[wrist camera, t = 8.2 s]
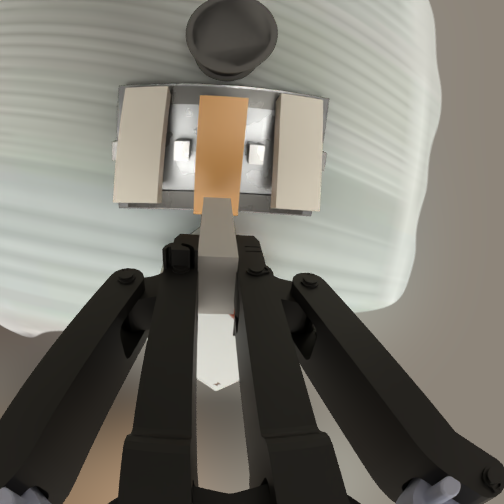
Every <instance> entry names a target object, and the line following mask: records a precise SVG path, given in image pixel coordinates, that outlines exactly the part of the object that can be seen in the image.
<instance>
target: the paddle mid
mask: <svg viewBox="0 0 504 504" xmlns="http://www.w3.org/2000/svg"><path fill="white" fill-rule="evenodd" d="M248 100H249V98H241V97H227V96H208V95H200V102H199V115H198V129H197V144H196V162H195V184H194V214H202V209H203V200H204V197H213V198H231V205H232V213H233V216H238V206H239V194H240V183H241V172H242V161H243V150H244V140H245V130H246V120H247V110H248Z"/></svg>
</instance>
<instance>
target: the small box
mask: <svg viewBox="0 0 504 504" xmlns="http://www.w3.org/2000/svg"><path fill="white" fill-rule="evenodd" d="M192 234H194V235H200V228H198V229H197V230H196V231H194V232H193V233H192ZM162 272H163V266H162V269H161V273H162ZM161 273H160V274H161ZM234 315H235V310H234V314H199V313H198V338H197V379H198V380H199V381H201V382H202V383H204V384H205V385H207V386H208V387H210V388H211V389H213V390H214V391H217V390H220V389H222V388H224V387H226V386H229V385H230V384H233V383H235V382H237V381H239V371H238V361H237V351H236V340H235V336H233V327H234ZM147 339H148V338H147ZM146 341H147V340H146Z"/></svg>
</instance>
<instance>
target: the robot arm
mask: <svg viewBox="0 0 504 504" xmlns="http://www.w3.org/2000/svg"><path fill="white" fill-rule="evenodd" d="M162 250H163V272H162V273H161V274H159V275H156V276H152V277H146V278H144V276H143V273H142V272H140V271H139V270H136V269H131V268H126V269H121V270H118V271H116V272H114V273H113V274H112V275H111V276H110V277H109V278H108V279H107V280H106V282H105V283H104V284H103V285H102V286H101V287H100V288H99V290H98V291H97V292H96V293H95V294H94V295H93V296H92V298H91V299H90V300H89V301H88V302H87V303H86V305H85V306H84V307H83V308H82V309H81V311H80V312H79V313H78V314H77V315H76V317H75V318H74V319H73V320H72V321H71V323H70V324H69V325H68V326H67V328H66V329H65V330H64V331H63V333H62V334H61V335H60V337H59V338H58V339H57V340H56V342H55V343H54V344H53V345H52V347H51V348H50V349H49V351H48V352H47V353H46V355H45V356H44V357H43V359H42V360H41V361H40V363H39V364H38V365H37V367H36V368H35V369H34V371H33V372H32V373H31V375H30V376H29V378H28V379H27V380H26V382H25V383H24V385H23V386H22V388H21V389H20V390H19V392H18V394H17V395H16V397H15V398H14V399H13V401H12V402H11V404H10V405H9V407H8V408H7V410H6V411H5V413H4V415H3V416H2V418H1V419H0V504H63V502H64V501H65V499H66V497H67V496H68V495H69V493H70V491H71V489H72V487H73V485H74V483H75V481H76V479H77V477H78V475H79V473H80V470H81V468H82V466H83V464H84V462H85V460H86V457H87V455H88V453H89V451H90V449H91V447H92V445H93V443H94V440H95V438H96V436H97V434H98V432H99V430H100V428H101V426H102V424H103V422H104V420H105V418H106V416H107V414H108V412H109V410H110V408H111V406H112V404H113V402H114V400H115V398H116V396H117V394H118V392H119V390H120V388H121V387H122V385H123V383H124V381H125V379H126V377H127V375H128V373H129V371H130V369H131V367H132V366H133V364H134V362H135V360H136V358H137V356H138V354H139V353H140V351H141V349H142V347H143V345H144V343H145V341H146V340H147V345H146V350H145V356H144V361H143V366H142V371H141V378H140V384H139V389H138V396H137V402H136V409H135V417H134V423H133V430H132V432H131V434H129V435H127V437H126V439H125V441H124V446H123V453H122V462H121V471H120V481H119V493H118V498H116V499H114V500H113V501H111V502H110V503H109V504H360V503H359V502H357V501H356V500H354V499H353V498H352V497H350V496H348V495H347V493H346V489H345V486H344V482H343V479H342V475H341V472H340V468H339V465H338V462H337V458H336V455H335V451H334V448H333V444H332V442H331V440H330V437H329V436H328V435H327V433H325V432H322V431H320V430H319V429H318V427H317V424H316V421H315V417H314V413H313V410H312V406H311V403H310V399H309V395H308V392H307V389H306V385H305V381H304V378H303V375H302V371H301V367H300V365H301V366H302V368H303V370H304V371H305V373H306V374H307V376H308V378H309V379H310V381H311V382H312V384H313V386H314V387H315V389H316V391H317V392H318V394H319V395H320V397H321V399H322V400H323V402H324V403H325V405H326V406H327V408H328V410H329V411H330V413H331V414H332V416H333V418H334V419H335V421H336V422H337V424H338V425H339V427H340V429H341V430H342V432H343V433H344V435H345V437H346V438H347V440H348V441H349V443H350V444H351V446H352V447H353V449H354V451H355V452H356V454H357V455H358V457H359V459H360V460H361V462H362V463H363V465H364V466H365V468H366V469H367V471H368V472H369V474H370V476H371V477H372V478H373V480H374V481H375V483H376V484H377V485H378V486H379V488H380V489H381V490H382V491H383V492H384V493H385V494H386V495H387V496H388V497H389V498H390V499H391V500H392V501H393V502H395V503H396V504H484V503H486V502H487V501H489V500H491V499H493V498H494V497H496V496H497V495H498V494H500V493H501V492H502V490H503V488H504V467H503V465H502V464H501V463H500V462H499V461H498V460H497V459H496V458H494V457H492V456H491V455H489V454H488V453H486V452H485V451H483V450H482V449H480V448H479V447H477V446H476V445H474V444H473V443H471V442H470V441H468V440H467V439H465V438H464V437H462V436H461V435H459V434H458V433H456V432H455V431H454V430H453V429H452V427H451V426H450V425H449V424H448V422H447V421H446V420H445V419H444V418H443V416H442V415H441V414H440V413H439V411H438V410H437V409H436V408H435V407H434V405H433V404H432V403H431V402H430V400H429V399H428V398H427V397H426V396H425V394H424V393H423V392H422V391H421V390H420V389H419V387H418V386H417V385H416V384H415V383H414V381H413V380H412V379H411V378H410V377H409V375H408V374H407V373H406V372H405V371H404V370H403V368H402V367H401V366H400V365H399V364H398V363H397V361H396V360H395V359H394V358H393V357H392V356H391V354H390V353H389V352H388V351H387V350H386V349H385V348H384V347H383V345H382V344H381V343H380V342H379V341H378V340H377V339H376V337H375V336H374V335H373V334H372V333H371V332H370V330H368V328H367V327H366V326H365V325H364V324H363V323H362V322H361V320H360V319H359V318H358V317H357V316H356V315H355V314H354V313H353V311H352V310H351V309H350V308H349V307H348V306H347V305H346V304H345V303H344V301H343V300H342V299H341V298H340V297H339V296H338V295H337V294H336V293H335V292H334V290H333V289H332V288H331V287H330V286H329V285H328V284H327V283H326V282H325V281H324V280H323V279H322V278H321V277H319V276H317V275H315V274H310V273H300V274H296V275H295V276H294V277H293V281H287V280H283V279H279V278H277V277H275V276H274V275H273V272H272V270H271V269H270V268H269V267H268V266H266V264H265V261H264V257H263V254H262V250H261V246H260V243H259V241H258V240H257V239H256V238H255V237H254V236H240V235H235V227H234V220H233V213H232V205H231V198H213V197H204V200H203V209H202V218H201V227H200V235H194V234H180V235H178V236H177V237H176V238H175V239H174V243H170V244H168V245H166V246H165V247H164V248H163V249H162ZM234 310H235V315H234V327H233V336H235V340H236V351H237V361H238V371H239V381H240V391H241V400H242V410H243V419H244V428H245V437H246V445H247V453H248V462H249V472H250V479H249V480H250V481H249V482H250V483H249V486H250V489H248V490H245V491H241V492H237V493H232V494H228V493H222V492H217V491H213V490H208V489H204V488H200V487H198V475H197V438H196V437H197V436H196V380H197V338H198V313H199V314H234ZM147 338H148V339H147ZM299 363H300V364H299Z"/></svg>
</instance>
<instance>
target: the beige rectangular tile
mask: <svg viewBox="0 0 504 504" xmlns="http://www.w3.org/2000/svg"><path fill="white" fill-rule="evenodd" d="M322 145H323V100H321V99H315V98H309V97H303V96H297V95H290V94H283V93H281V94H280V96H279V97H278V99H277V101H276V110H275V132H274V153H273V172H272V191H271V208H277V209H291V210H305V211H320V196H321V175H322Z"/></svg>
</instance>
